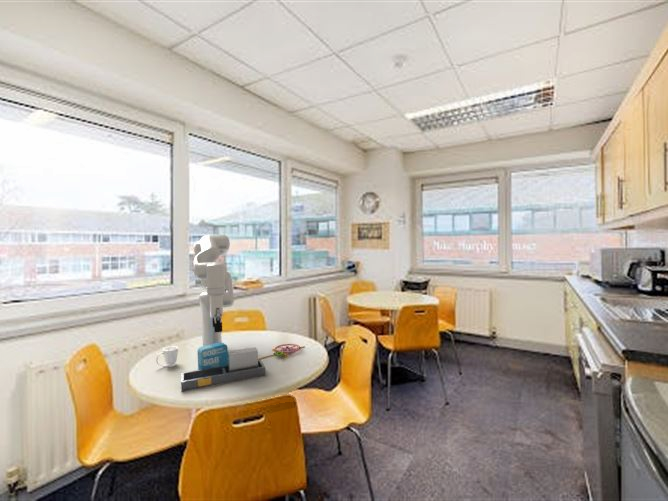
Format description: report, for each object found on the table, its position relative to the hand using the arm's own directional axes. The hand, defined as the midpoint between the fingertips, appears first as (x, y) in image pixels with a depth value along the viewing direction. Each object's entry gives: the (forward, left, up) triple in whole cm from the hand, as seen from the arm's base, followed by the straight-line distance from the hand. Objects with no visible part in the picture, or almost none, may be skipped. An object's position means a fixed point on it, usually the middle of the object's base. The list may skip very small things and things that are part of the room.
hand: (217, 329), depth 152 cm
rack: (+10, +1, -19) cm, 21 cm away
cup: (-17, -21, -19) cm, 34 cm away
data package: (0, -2, -19) cm, 20 cm away
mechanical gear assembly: (-9, +31, -20) cm, 38 cm away
